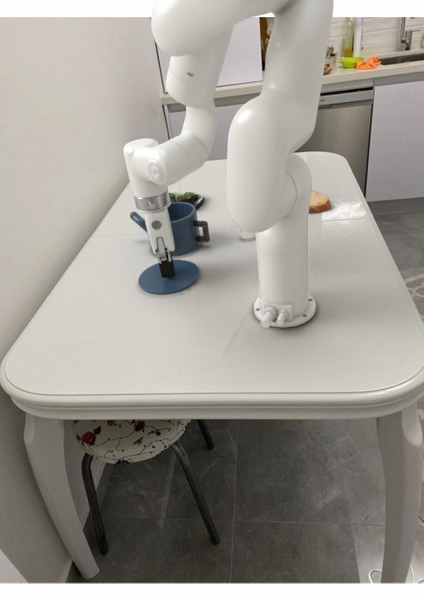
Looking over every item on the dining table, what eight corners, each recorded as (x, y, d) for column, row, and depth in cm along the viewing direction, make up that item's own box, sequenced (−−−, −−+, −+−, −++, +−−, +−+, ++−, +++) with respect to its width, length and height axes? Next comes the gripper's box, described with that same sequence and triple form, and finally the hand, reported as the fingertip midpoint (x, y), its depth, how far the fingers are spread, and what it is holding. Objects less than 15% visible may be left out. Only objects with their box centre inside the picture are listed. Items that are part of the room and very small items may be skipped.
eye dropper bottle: (260, 240, 116) (257, 198, 109) (239, 241, 118) (235, 198, 111) (262, 233, 120) (259, 191, 113) (242, 233, 121) (238, 192, 114)
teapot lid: (184, 300, 98) (178, 272, 94) (128, 292, 103) (120, 266, 99) (209, 266, 109) (205, 240, 104) (157, 261, 114) (151, 236, 110)
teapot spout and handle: (208, 244, 114) (204, 217, 110) (133, 238, 123) (127, 213, 119) (211, 240, 116) (208, 213, 111) (137, 234, 124) (131, 210, 120)
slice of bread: (333, 210, 125) (334, 198, 123) (270, 217, 127) (270, 205, 125) (321, 188, 140) (321, 177, 138) (265, 194, 142) (264, 183, 140)
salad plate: (132, 216, 141) (129, 202, 139) (161, 194, 154) (158, 182, 151) (184, 221, 133) (181, 206, 130) (210, 198, 146) (208, 184, 143)
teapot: (188, 260, 112) (182, 225, 107) (142, 256, 118) (134, 222, 112) (208, 236, 122) (203, 202, 117) (165, 233, 128) (159, 201, 122)
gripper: (171, 211, 88) (186, 287, 98) (167, 184, 101) (181, 253, 112) (134, 217, 88) (153, 293, 98) (135, 189, 101) (152, 258, 111)
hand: (168, 271), depth 105 cm, fingers closed on teapot lid, 3 cm apart
